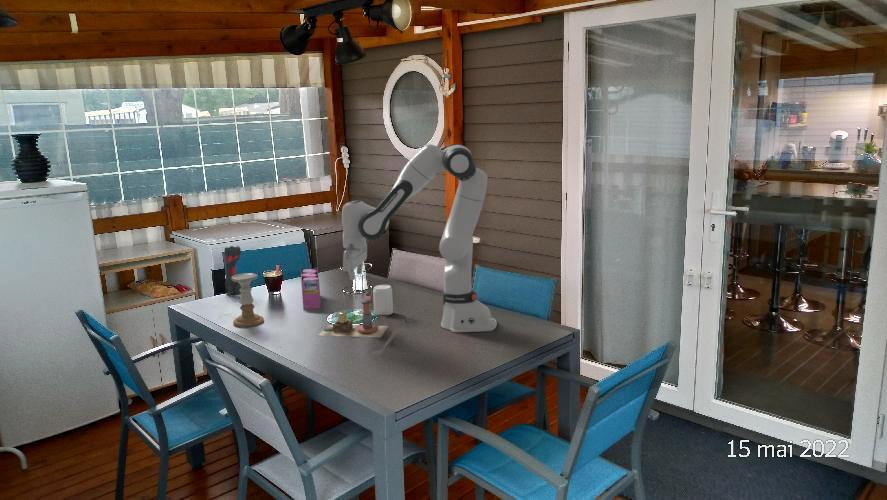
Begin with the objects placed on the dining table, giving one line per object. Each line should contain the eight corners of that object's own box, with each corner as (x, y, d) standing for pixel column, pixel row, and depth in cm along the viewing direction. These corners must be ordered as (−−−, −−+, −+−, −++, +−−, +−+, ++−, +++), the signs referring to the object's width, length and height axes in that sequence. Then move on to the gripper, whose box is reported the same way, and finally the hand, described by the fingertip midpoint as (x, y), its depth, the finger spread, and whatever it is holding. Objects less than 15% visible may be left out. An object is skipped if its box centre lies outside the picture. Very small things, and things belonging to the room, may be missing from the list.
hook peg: (347, 328, 254) (346, 311, 252) (346, 331, 251) (345, 314, 249) (339, 328, 254) (338, 311, 252) (338, 331, 251) (337, 314, 249)
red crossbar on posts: (377, 332, 247) (375, 303, 245) (356, 333, 247) (354, 304, 244) (379, 320, 262) (378, 292, 259) (359, 321, 262) (358, 293, 259)
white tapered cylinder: (390, 317, 271) (388, 289, 268) (371, 316, 272) (370, 289, 270) (395, 311, 278) (394, 284, 276) (377, 310, 280) (376, 284, 277)
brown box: (352, 327, 255) (352, 320, 254) (348, 332, 249) (347, 325, 248) (338, 327, 256) (337, 320, 255) (333, 332, 250) (332, 324, 249)
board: (389, 328, 256) (388, 325, 255) (380, 340, 243) (380, 336, 243) (328, 327, 260) (328, 323, 259) (317, 338, 247) (317, 334, 247)
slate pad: (336, 327, 255) (336, 327, 255) (332, 331, 251) (332, 330, 251) (325, 327, 256) (325, 326, 256) (321, 331, 252) (321, 330, 251)
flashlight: (248, 292, 315) (243, 246, 310) (235, 296, 309) (230, 249, 304) (237, 290, 319) (232, 245, 314) (224, 294, 313) (219, 248, 308)
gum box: (302, 295, 307) (300, 268, 304) (319, 294, 309) (317, 266, 306) (303, 310, 284) (300, 280, 281) (321, 308, 286) (319, 278, 283)
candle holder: (269, 322, 269) (265, 275, 264) (243, 329, 260) (238, 281, 256) (254, 316, 277) (249, 270, 273) (227, 323, 268) (222, 276, 264)
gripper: (354, 247, 239) (356, 283, 242) (369, 237, 259) (370, 270, 262) (338, 247, 240) (340, 283, 243) (354, 237, 260) (355, 270, 263)
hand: (356, 276), depth 253 cm, fingers open, 8 cm apart
